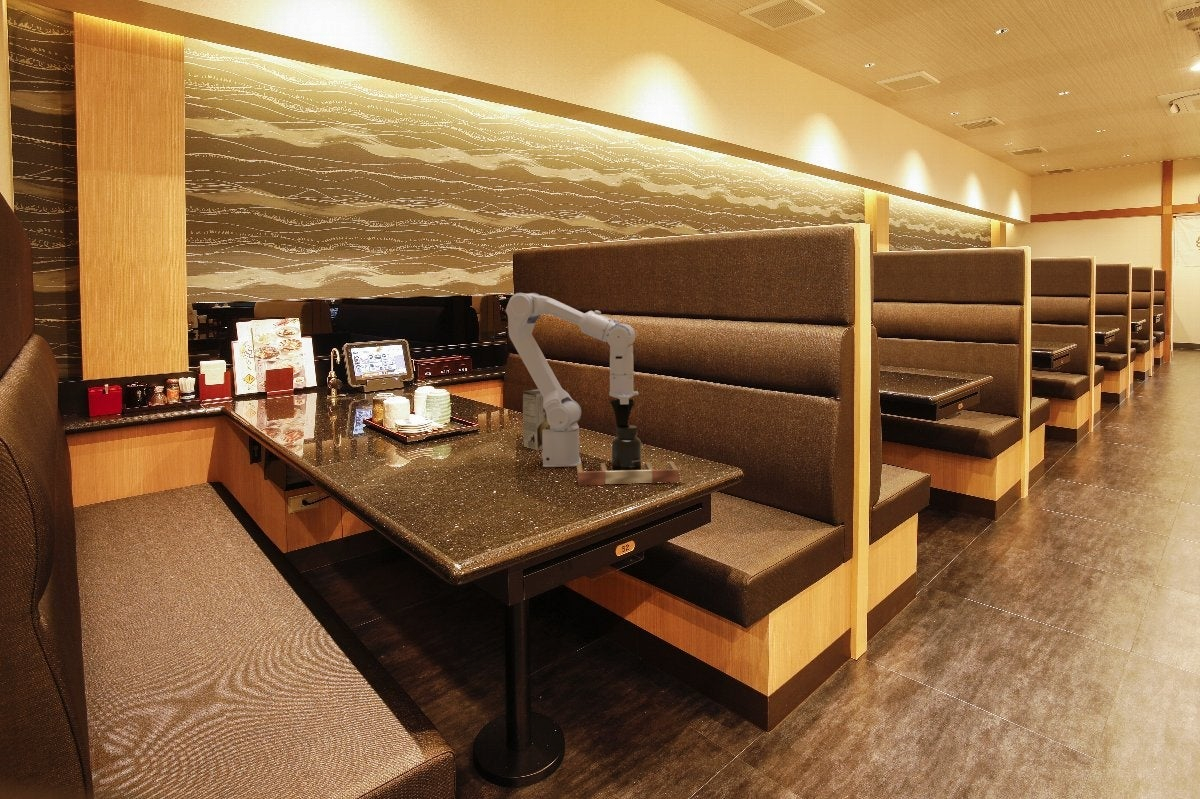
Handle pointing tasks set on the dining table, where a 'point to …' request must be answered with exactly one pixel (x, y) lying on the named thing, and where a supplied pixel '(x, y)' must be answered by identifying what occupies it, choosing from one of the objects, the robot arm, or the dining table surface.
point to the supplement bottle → (626, 449)
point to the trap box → (627, 475)
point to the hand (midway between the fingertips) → (621, 429)
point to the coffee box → (533, 419)
